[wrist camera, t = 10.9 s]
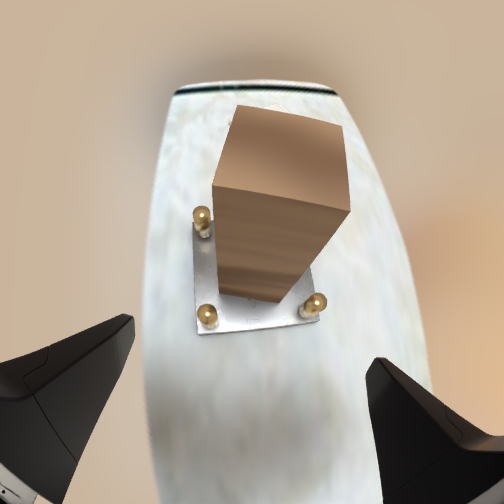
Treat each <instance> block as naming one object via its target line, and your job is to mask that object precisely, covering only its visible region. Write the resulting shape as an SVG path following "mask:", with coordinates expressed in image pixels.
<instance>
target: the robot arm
mask: <svg viewBox="0 0 504 504" xmlns="http://www.w3.org/2000/svg"><path fill="white" fill-rule="evenodd" d="M134 339H135V323H134V317H133V316H131V315H127V314H121V315H118V316H116V317H114V318H111V319H109V320H107V321H104V322H102V323H100V324H98V325H95V326H93V327H91V328H88V329H86V330H84V331H81V332H79V333H77V334H75V335H72V336H70V337H68V338H65V339H63V340H61V341H58V342H56V343H54V344H51V345H50V346H47V347H44V348H42V349H40V350H38V351H35V352H32V353H30V354H27V355H24V356H21V357H18V358H15V359H12V360H8V361H5V362H2V363H0V504H33V503H34V501H35V499H36V497H37V494H38V495H40V496H41V497H43V498H45V499H46V500H48V501H49V502H51V503H53V504H62V502H63V500H64V497H65V494H66V492H67V489H68V487H69V484H70V482H71V479H72V477H73V475H74V472H75V470H76V467H77V465H78V462H79V460H80V458H81V455H82V453H83V451H84V449H85V447H86V444H87V442H88V440H89V438H90V436H91V433H92V431H93V429H94V427H95V425H96V423H97V421H98V418H99V416H100V414H101V412H102V410H103V408H104V406H105V404H106V402H107V400H108V398H109V396H110V394H111V392H112V390H113V389H114V387H115V385H116V382H117V381H118V379H119V377H120V375H121V373H122V370H123V368H124V365H125V362H126V360H127V357H128V354H129V352H130V349H131V347H132V344H133V342H134ZM366 387H367V397H368V407H369V413H370V419H371V424H372V429H373V435H374V440H375V446H376V452H377V458H378V465H379V472H380V479H381V487H382V496H383V504H504V436H493V435H489V434H486V433H485V432H483V431H482V430H480V429H479V428H477V427H476V426H474V425H473V424H471V423H470V422H468V421H467V420H465V419H464V418H462V417H461V416H459V415H458V414H457V413H455V412H454V411H453V410H451V409H450V408H449V407H447V406H446V405H444V403H442V402H441V401H440V400H438V399H437V398H436V397H435V396H433V395H432V394H431V393H430V392H428V391H427V390H426V389H425V388H423V387H422V386H421V385H419V384H418V383H417V382H416V381H414V380H413V379H412V378H410V377H409V376H408V375H407V374H405V373H404V372H403V371H402V370H400V369H399V368H398V367H396V366H395V365H394V364H393V363H391V362H390V361H389V360H388V359H386V358H382V357H377V358H375V359H374V360H373V362H372V364H371V366H370V367H369V369H368V371H367V373H366Z"/></svg>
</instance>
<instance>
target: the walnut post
mask: <svg viewBox="0 0 504 504" xmlns="http://www.w3.org/2000/svg"><path fill="white" fill-rule="evenodd" d="M212 197H213V216H214V233H215V248H216V263H217V276H218V288H219V293H220V294H225V295H231V296H237V297H243V298H249V299H255V300H261V301H268V302H274V303H280V302H281V301H282V300H283V298H284V297H285V296H286V295H287V293H288V292H289V291H290V290H291V288H292V287H293V286H294V285H295V283H296V282H297V281H298V280H299V278H300V277H301V276H302V275H303V273H304V272H305V271H306V270H307V268H308V267H309V266H310V265H311V263H312V262H313V261H314V259H315V258H316V257H317V256H318V254H319V253H320V252H321V250H322V249H323V248H324V246H325V245H326V244H327V242H328V241H329V240H330V238H331V237H332V236H333V234H334V233H335V232H336V230H337V229H338V228H339V226H340V225H341V224H342V222H343V221H344V220H345V218H346V217H347V215H348V214H349V213H350V211H351V210H350V195H349V183H348V172H347V162H346V153H345V145H344V137H343V130H342V126H340V125H336V124H332V123H329V122H325V121H321V120H317V119H312V118H308V117H304V116H299V115H295V114H290V113H285V112H279V111H274V110H268V109H262V108H256V107H249V106H242V105H237V108H236V111H235V114H234V116H233V119H232V122H231V125H230V128H229V132H228V135H227V138H226V141H225V144H224V147H223V150H222V153H221V157H220V160H219V163H218V166H217V170H216V173H215V176H214V180H213V183H212Z"/></svg>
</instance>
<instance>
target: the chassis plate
mask: <svg viewBox="0 0 504 504" xmlns="http://www.w3.org/2000/svg"><path fill="white" fill-rule="evenodd" d="M193 218H194V222H192V224H193V260H194V282H195V300H196V315H197V328H198V334H199V335H208V334H221V333H233V332H244V331H253V330H263V329H271V328H279V327H287V326H294V325H302V324H308V323H315V322H318V321H320V318H319V312H321V311H322V310H324V309H325V308H326V306H327V299H326V297H325V296H324V295H323V294H321V293H315V290H314V285H313V280H312V275H311V270H310V266H309V267H308V268H307V270H306V271H305V272H304V273H303V275H302V276H301V277H300V278H299V280H298V281H297V282H296V283H295V285H294V286H293V287H292V288H291V290H290V291H289V292H288V293H287V295H286V296H285V297H284V298H283V300H282V301H281V302H280V303H274V302H268V301H261V300H255V299H249V298H243V297H237V296H231V295H225V294H220V293H219V288H218V276H217V263H216V248H215V233H214V221H211V217H210V210H209V209H208V208H207V207H206V206H198V207H196V208H195V209H194V211H193Z"/></svg>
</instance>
